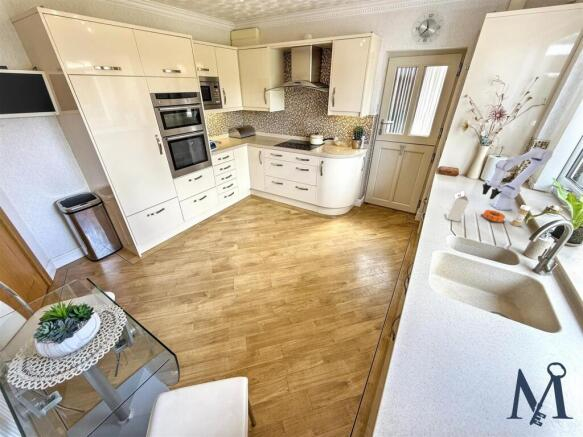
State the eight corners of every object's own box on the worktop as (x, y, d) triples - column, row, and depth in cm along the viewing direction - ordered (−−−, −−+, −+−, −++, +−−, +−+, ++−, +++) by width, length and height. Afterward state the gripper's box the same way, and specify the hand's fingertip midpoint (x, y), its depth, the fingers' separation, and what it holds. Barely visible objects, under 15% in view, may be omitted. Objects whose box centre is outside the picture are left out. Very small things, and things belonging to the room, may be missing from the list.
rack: (494, 216, 159) (497, 210, 157) (503, 222, 152) (507, 217, 149) (480, 215, 159) (483, 210, 157) (490, 222, 152) (493, 216, 150)
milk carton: (457, 217, 156) (470, 191, 146) (459, 222, 150) (472, 195, 141) (445, 214, 158) (457, 188, 149) (446, 219, 153) (458, 192, 143)
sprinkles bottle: (520, 225, 150) (532, 206, 143) (518, 227, 147) (530, 208, 141) (512, 222, 153) (523, 203, 146) (509, 224, 151) (520, 205, 144)
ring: (494, 213, 160) (496, 210, 158) (507, 222, 150) (509, 218, 149) (479, 213, 160) (481, 209, 158) (490, 221, 150) (492, 217, 149)
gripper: (483, 174, 164) (475, 192, 171) (498, 181, 151) (489, 200, 158) (494, 174, 164) (485, 192, 171) (509, 182, 151) (499, 201, 158)
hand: (487, 196), depth 164 cm, fingers open, 7 cm apart
